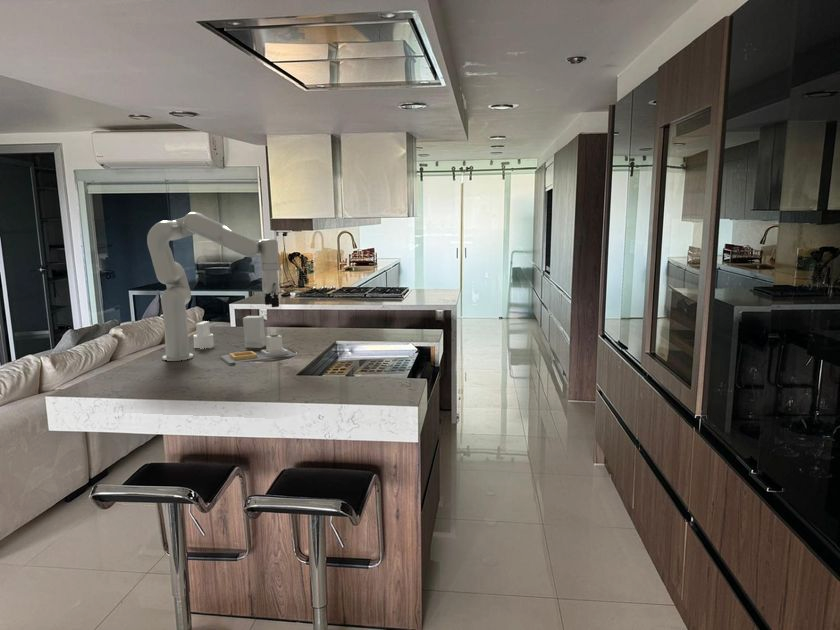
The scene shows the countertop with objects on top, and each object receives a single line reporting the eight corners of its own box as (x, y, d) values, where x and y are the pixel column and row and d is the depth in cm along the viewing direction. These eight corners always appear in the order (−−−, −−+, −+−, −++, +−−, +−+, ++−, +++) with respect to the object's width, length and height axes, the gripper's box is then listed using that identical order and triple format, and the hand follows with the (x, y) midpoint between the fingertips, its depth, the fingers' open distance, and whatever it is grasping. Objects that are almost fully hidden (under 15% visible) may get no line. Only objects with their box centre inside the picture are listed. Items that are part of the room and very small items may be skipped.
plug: (266, 353, 259) (265, 334, 257) (279, 352, 262) (278, 333, 260) (269, 355, 255) (268, 335, 254) (282, 353, 258) (281, 334, 257)
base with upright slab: (209, 349, 272) (208, 324, 270) (190, 349, 272) (189, 324, 270) (216, 345, 281) (215, 321, 279) (198, 345, 281) (197, 321, 279)
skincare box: (265, 347, 277) (264, 315, 274) (260, 350, 270) (259, 317, 268) (249, 346, 277) (247, 315, 275) (243, 349, 271) (242, 317, 268)
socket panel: (220, 358, 254) (220, 352, 253) (285, 350, 270) (285, 345, 269) (229, 365, 240) (229, 359, 240) (297, 357, 256) (297, 351, 256)
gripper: (256, 266, 257) (258, 304, 260) (267, 268, 243) (269, 308, 245) (272, 265, 261) (274, 303, 264) (284, 268, 247) (286, 307, 249)
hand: (271, 305), depth 255 cm, fingers open, 9 cm apart
